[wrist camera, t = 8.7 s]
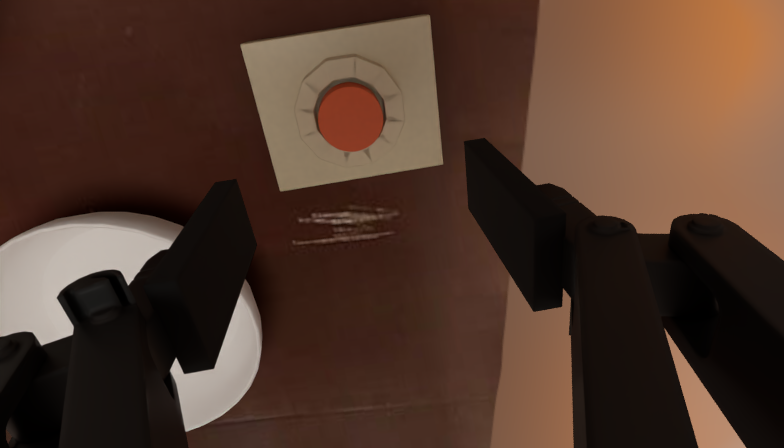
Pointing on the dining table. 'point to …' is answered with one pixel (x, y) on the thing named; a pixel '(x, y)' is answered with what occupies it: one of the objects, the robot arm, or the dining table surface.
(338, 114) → the button
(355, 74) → the button block
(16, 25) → the dining table surface
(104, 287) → the robot arm
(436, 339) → the dining table surface
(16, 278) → the bowl
